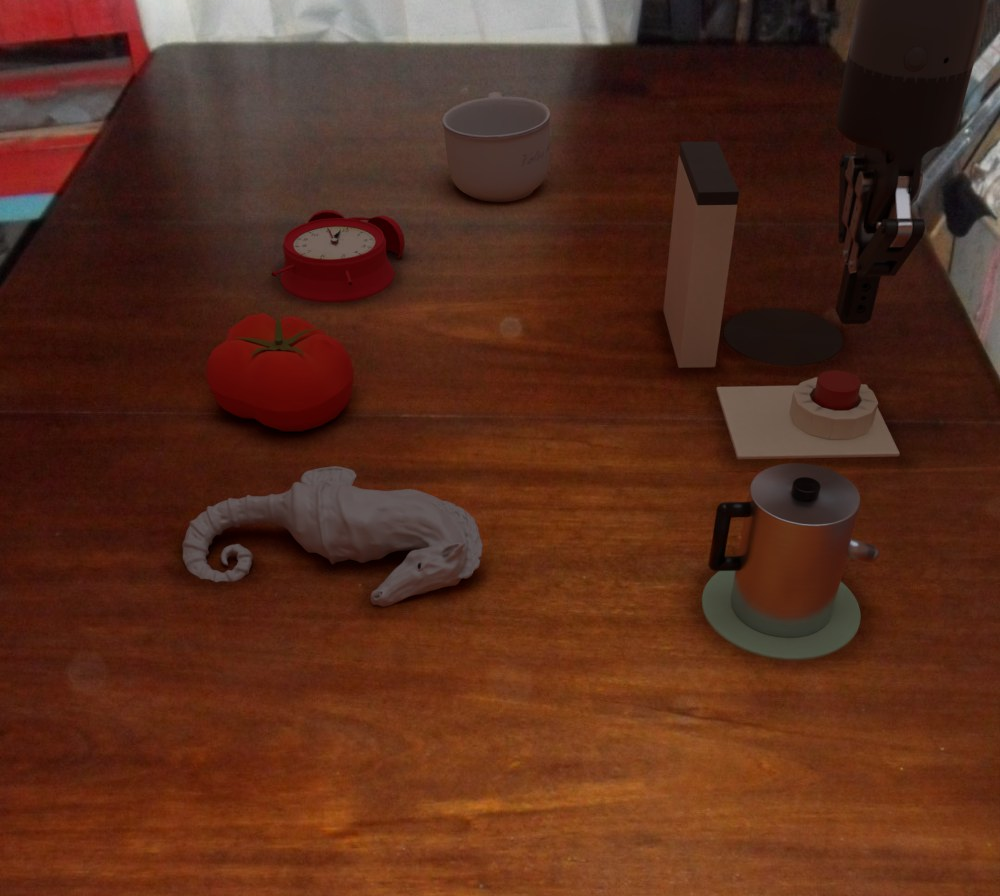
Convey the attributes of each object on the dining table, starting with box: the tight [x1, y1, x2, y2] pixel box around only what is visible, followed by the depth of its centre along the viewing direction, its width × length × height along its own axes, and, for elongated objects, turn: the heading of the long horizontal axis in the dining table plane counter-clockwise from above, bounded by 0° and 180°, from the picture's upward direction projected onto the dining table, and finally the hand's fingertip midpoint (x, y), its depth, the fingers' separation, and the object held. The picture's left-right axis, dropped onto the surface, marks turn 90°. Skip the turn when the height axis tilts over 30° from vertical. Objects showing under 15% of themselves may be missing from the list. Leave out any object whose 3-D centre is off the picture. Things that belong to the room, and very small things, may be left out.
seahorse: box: [181, 465, 484, 608], centre depth 78 cm, size 5×12×20 cm
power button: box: [813, 369, 862, 411], centre depth 89 cm, size 3×3×2 cm
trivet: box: [700, 571, 862, 661], centre depth 76 cm, size 10×10×1 cm
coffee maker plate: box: [722, 307, 844, 367], centre depth 101 cm, size 10×10×1 cm
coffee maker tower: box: [662, 141, 740, 369], centre depth 96 cm, size 3×10×15 cm, turn 2°
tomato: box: [205, 312, 355, 433], centre depth 92 cm, size 10×11×6 cm
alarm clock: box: [271, 209, 406, 304], centre depth 109 cm, size 10×6×15 cm
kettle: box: [708, 462, 880, 638], centre depth 72 cm, size 10×6×9 cm, turn 92°
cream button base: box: [715, 376, 901, 460], centre depth 90 cm, size 12×10×3 cm
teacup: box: [441, 91, 552, 203], centre depth 122 cm, size 14×11×8 cm
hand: (851, 318), depth 85 cm, fingers closed
